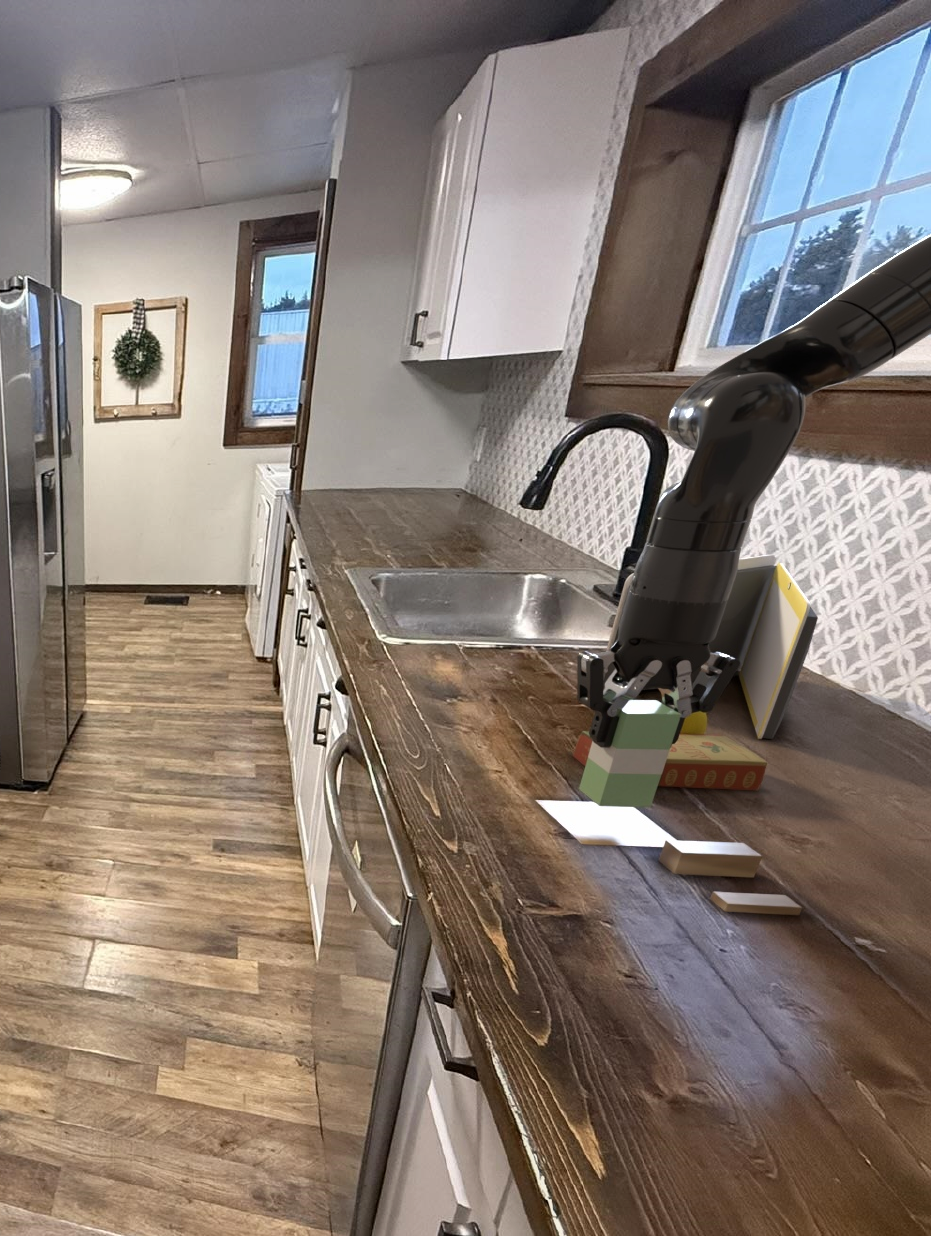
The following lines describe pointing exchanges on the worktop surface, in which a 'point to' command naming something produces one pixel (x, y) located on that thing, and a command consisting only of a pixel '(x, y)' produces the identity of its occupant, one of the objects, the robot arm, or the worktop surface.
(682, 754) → the carton
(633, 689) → the robot arm
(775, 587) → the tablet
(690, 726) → the lemon
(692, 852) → the wooden bars
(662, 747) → the packet
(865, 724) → the worktop surface
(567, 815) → the coaster
